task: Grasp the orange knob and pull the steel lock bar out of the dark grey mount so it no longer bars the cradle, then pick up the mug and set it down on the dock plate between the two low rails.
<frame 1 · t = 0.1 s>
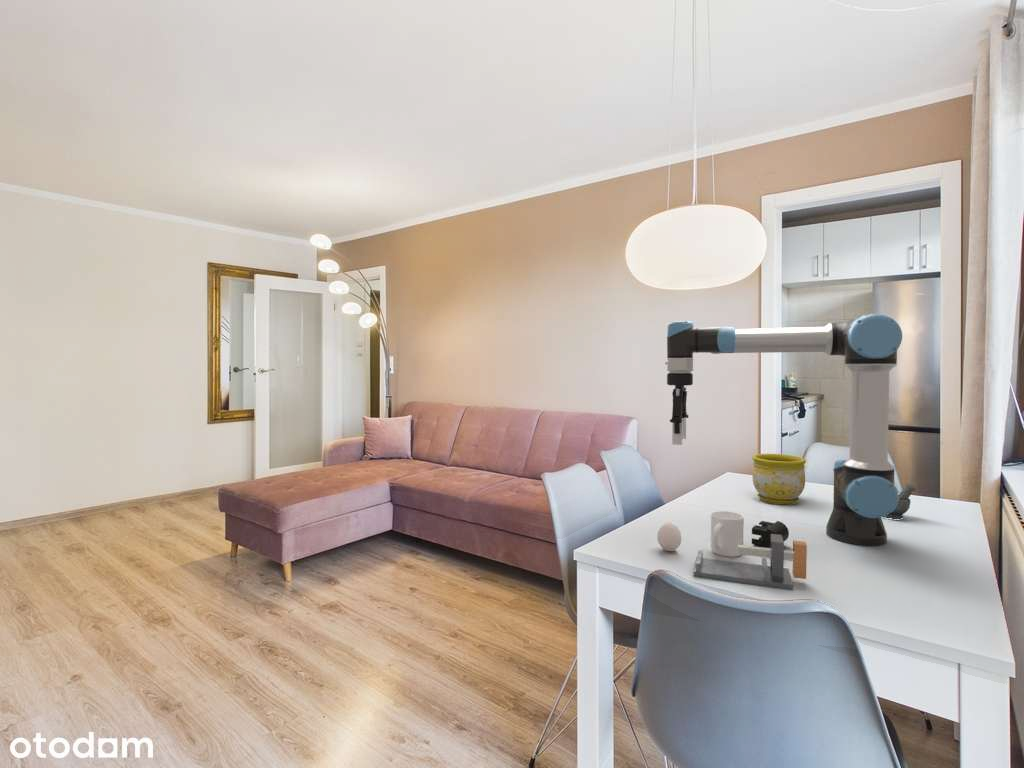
hand: (679, 441, 164), 28 cm above the table, fingers open, 13 cm apart
mug: (723, 554, 145), on the table
dock: (749, 575, 130), on the table
egg: (669, 551, 148), on the table
lock pin: (771, 556, 128), point 6 cm above the table, slide at 0.0 cm
flowerpot: (778, 501, 201), on the table
mortar and pestle: (894, 518, 178), on the table
end cap: (770, 548, 150), on the table
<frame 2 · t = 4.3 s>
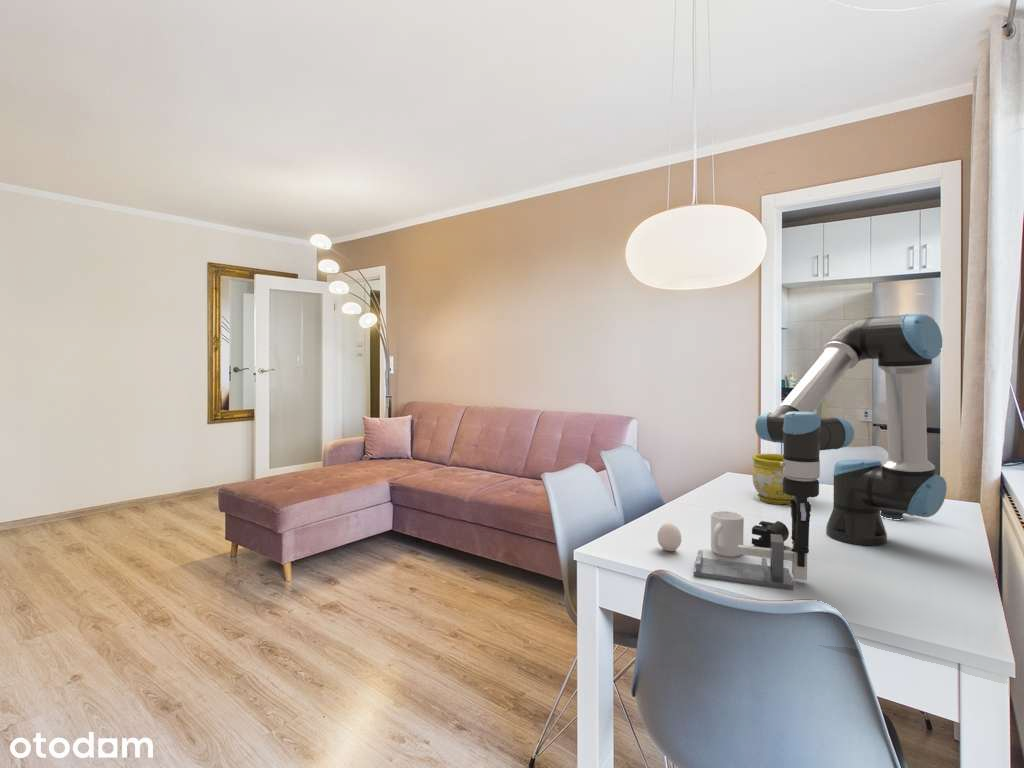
hand: (799, 576, 126), 2 cm above the table, fingers closed on lock pin, 3 cm apart
lock pin: (771, 556, 128), point 6 cm above the table, slide at 0.0 cm, touching gripper
everything else where it was.
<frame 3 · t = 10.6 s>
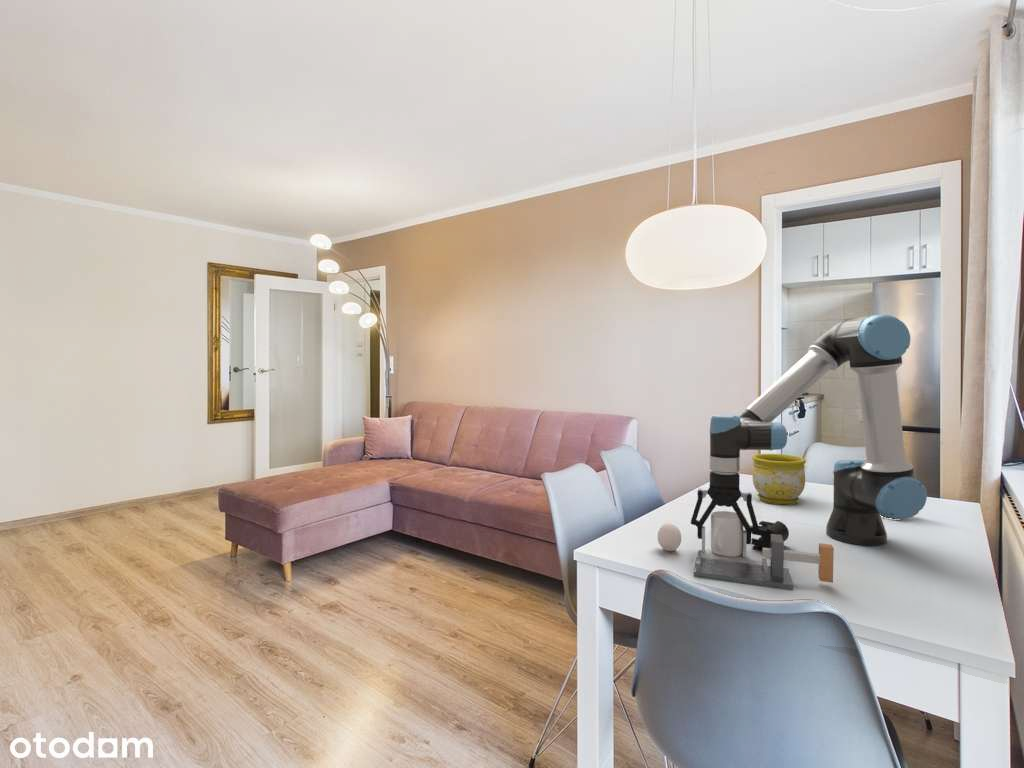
hand: (723, 552, 145), 0 cm above the table, fingers open, 10 cm apart
mug: (723, 554, 145), on the table, touching gripper
lock pin: (796, 559, 126), point 5 cm above the table, slide at 5.4 cm
everything else where it was.
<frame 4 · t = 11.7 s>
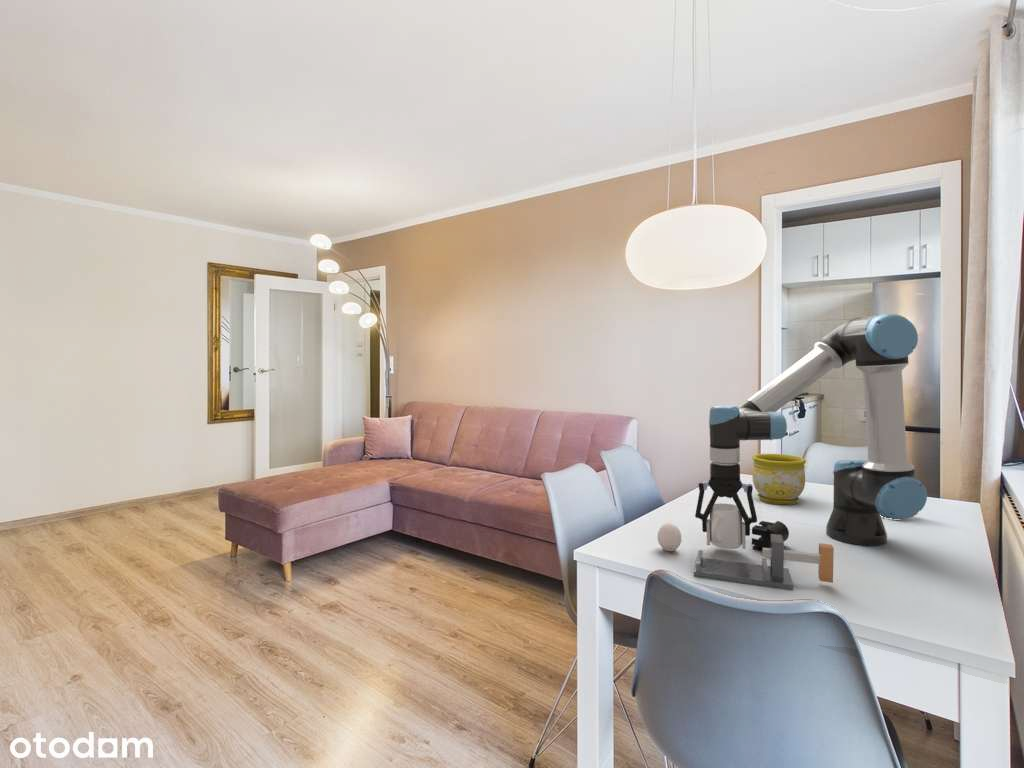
hand: (726, 545, 145), 2 cm above the table, fingers closed on mug, 8 cm apart
mug: (723, 546, 145), point 2 cm above the table, touching gripper
everything else where it was.
when the fingers open (3 cm above the table, at t = 16.2 s): mug drops 1 cm, resting on dock.
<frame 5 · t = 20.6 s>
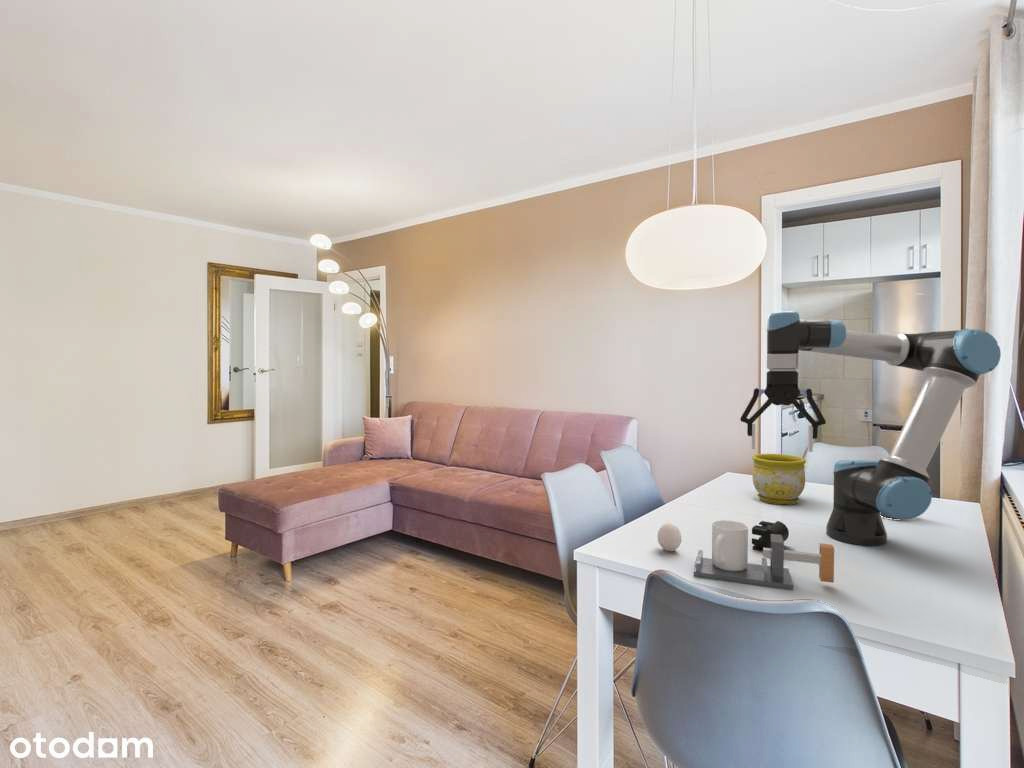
hand: (781, 449, 142), 29 cm above the table, fingers open, 13 cm apart
mug: (726, 568, 132), point 1 cm above the table, touching dock
everything else where it was.
at the end: mug inside the target area (0.2 cm from its centre), point 1.0 cm above the table; mug tilted 0°; lock pin slide at 5.5 cm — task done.
